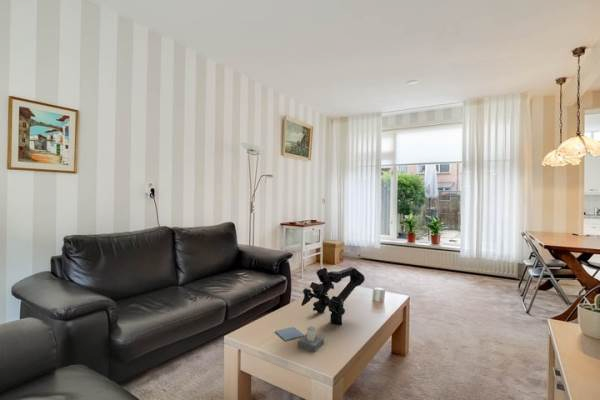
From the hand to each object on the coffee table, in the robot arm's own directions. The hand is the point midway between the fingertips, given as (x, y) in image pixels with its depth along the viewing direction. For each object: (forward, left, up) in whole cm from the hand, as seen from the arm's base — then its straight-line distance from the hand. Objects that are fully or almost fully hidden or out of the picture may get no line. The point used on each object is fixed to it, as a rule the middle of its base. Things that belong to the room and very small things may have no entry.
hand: (307, 307), depth 166 cm
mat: (+9, +1, -15) cm, 18 cm away
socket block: (-3, +12, -15) cm, 19 cm away
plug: (-3, +12, -15) cm, 19 cm away
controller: (-8, -32, -15) cm, 37 cm away
